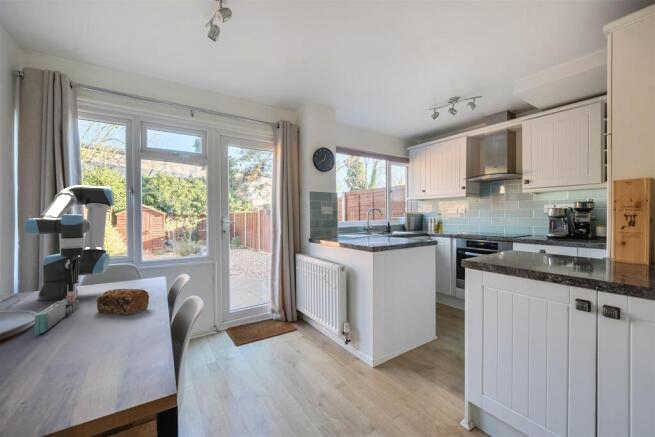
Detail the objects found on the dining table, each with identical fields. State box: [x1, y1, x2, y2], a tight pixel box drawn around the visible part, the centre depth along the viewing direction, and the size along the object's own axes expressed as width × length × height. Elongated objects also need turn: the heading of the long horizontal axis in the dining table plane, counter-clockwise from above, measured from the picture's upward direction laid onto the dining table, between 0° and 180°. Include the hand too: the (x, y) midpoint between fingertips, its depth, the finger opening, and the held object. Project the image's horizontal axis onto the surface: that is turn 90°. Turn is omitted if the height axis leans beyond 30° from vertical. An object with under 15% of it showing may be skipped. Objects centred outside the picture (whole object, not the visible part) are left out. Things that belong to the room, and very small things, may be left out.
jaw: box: [40, 298, 71, 334], centre depth 108 cm, size 23×2×7 cm, turn 27°
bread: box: [96, 288, 150, 316], centre depth 123 cm, size 19×11×10 cm, turn 76°
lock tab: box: [66, 295, 76, 302], centre depth 121 cm, size 3×3×3 cm
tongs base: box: [34, 299, 80, 337], centre depth 111 cm, size 31×4×7 cm, turn 28°
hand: (71, 297), depth 123 cm, fingers closed
